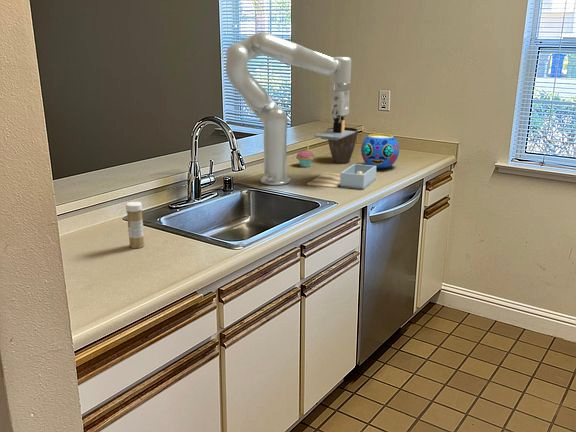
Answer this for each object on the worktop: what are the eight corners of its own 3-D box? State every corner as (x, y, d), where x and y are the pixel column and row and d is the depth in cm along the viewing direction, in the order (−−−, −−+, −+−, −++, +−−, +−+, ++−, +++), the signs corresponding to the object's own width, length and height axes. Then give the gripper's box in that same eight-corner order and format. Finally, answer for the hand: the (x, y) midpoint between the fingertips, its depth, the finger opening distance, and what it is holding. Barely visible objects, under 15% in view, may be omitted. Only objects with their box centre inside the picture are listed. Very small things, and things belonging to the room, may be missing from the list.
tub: (363, 189, 240) (363, 175, 238) (340, 186, 244) (340, 172, 242) (375, 179, 256) (376, 165, 254) (353, 177, 259) (354, 163, 258)
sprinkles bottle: (130, 243, 180) (127, 201, 176) (145, 243, 181) (142, 200, 177) (128, 249, 176) (124, 205, 172) (143, 248, 177) (140, 205, 172)
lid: (339, 141, 237) (340, 125, 235) (314, 139, 242) (314, 122, 240) (354, 135, 254) (355, 119, 252) (331, 132, 258) (331, 117, 256)
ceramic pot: (357, 170, 272) (358, 138, 267) (364, 162, 288) (365, 131, 283) (395, 172, 267) (397, 140, 262) (400, 164, 283) (402, 133, 279)
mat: (336, 187, 242) (336, 186, 242) (306, 184, 248) (306, 183, 247) (352, 176, 262) (352, 175, 261) (325, 173, 267) (325, 172, 267)
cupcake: (317, 165, 282) (317, 140, 278) (308, 168, 275) (308, 143, 272) (302, 163, 286) (302, 138, 283) (292, 166, 280) (292, 141, 276)
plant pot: (335, 157, 299) (336, 125, 294) (362, 161, 291) (363, 128, 286) (320, 162, 287) (321, 130, 282) (347, 166, 279) (348, 133, 274)
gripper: (342, 89, 237) (340, 135, 242) (355, 86, 251) (353, 130, 256) (325, 88, 240) (323, 133, 245) (339, 85, 254) (337, 128, 259)
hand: (338, 131), depth 251 cm, fingers closed on lid, 3 cm apart
